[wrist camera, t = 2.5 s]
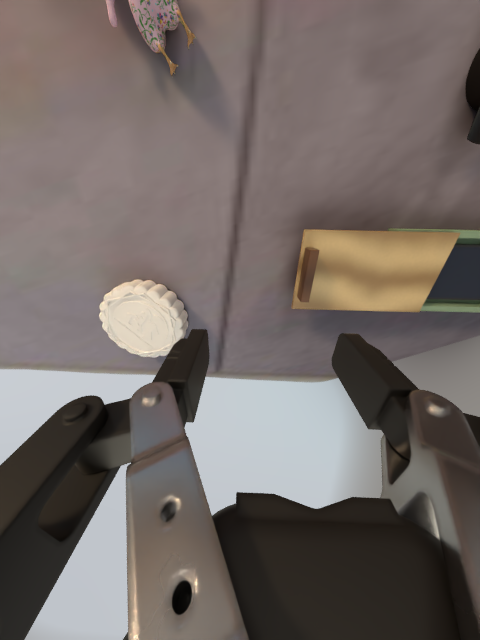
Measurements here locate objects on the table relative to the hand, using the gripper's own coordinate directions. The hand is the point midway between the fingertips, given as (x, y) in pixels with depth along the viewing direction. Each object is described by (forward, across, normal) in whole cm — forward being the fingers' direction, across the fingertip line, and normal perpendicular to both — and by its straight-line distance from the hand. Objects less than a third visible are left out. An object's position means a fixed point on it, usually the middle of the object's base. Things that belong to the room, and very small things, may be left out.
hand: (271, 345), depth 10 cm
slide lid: (+16, -13, 0) cm, 21 cm away
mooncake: (+18, +16, +8) cm, 25 cm away
